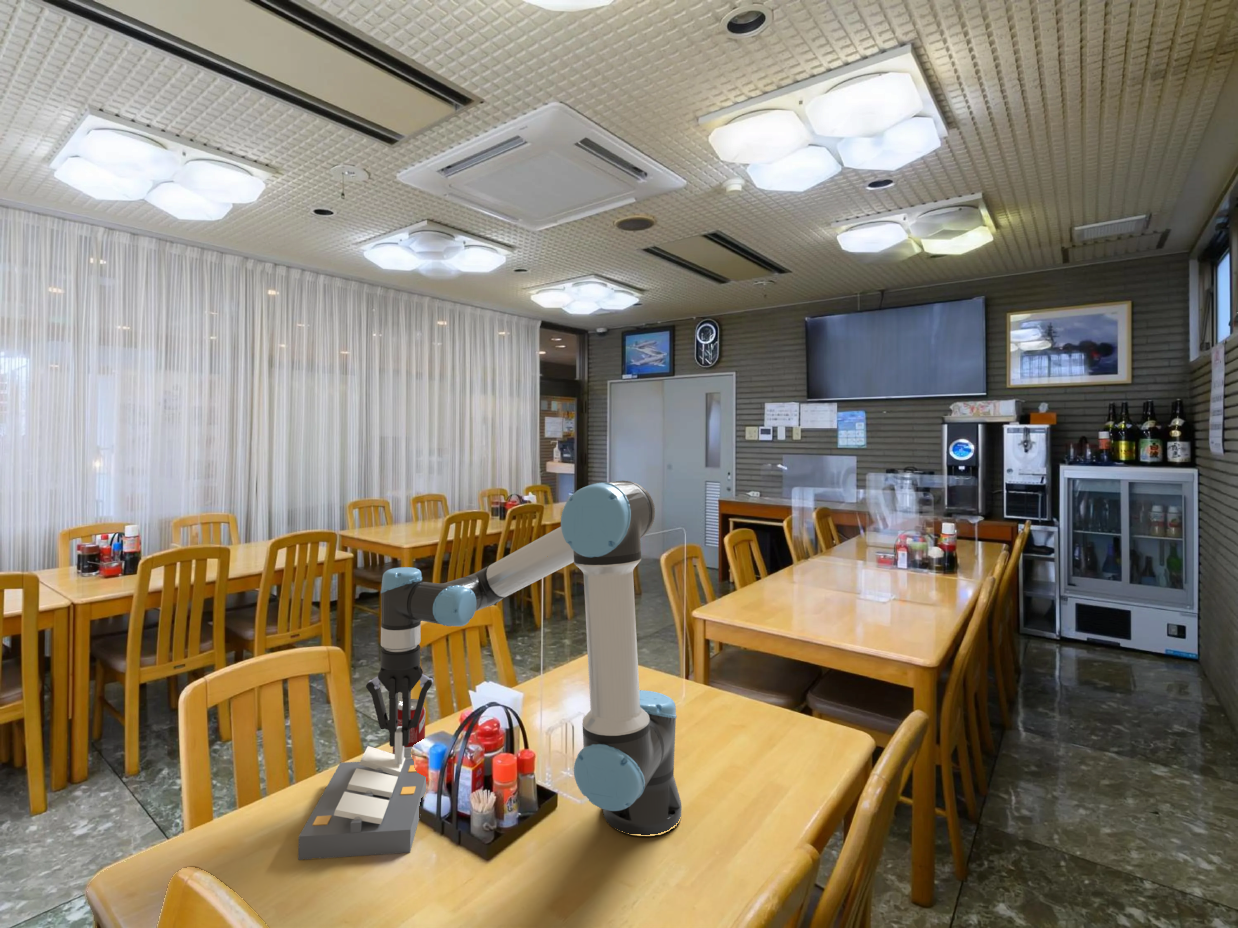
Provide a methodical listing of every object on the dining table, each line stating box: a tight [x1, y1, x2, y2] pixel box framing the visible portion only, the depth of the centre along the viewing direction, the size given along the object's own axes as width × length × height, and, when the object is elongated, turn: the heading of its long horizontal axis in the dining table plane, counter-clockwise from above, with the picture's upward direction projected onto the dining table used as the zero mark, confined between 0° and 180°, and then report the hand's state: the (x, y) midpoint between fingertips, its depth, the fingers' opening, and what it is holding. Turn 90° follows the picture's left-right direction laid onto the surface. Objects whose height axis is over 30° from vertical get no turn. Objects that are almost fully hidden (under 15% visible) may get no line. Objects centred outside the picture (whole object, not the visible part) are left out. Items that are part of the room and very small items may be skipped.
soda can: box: [392, 698, 426, 760], centre depth 138 cm, size 7×7×12 cm
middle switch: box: [347, 768, 398, 798], centre depth 117 cm, size 8×6×2 cm
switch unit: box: [297, 759, 427, 861], centre depth 117 cm, size 18×24×6 cm
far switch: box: [359, 745, 405, 777], centre depth 124 cm, size 8×6×2 cm
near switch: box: [334, 792, 389, 824], centre depth 109 cm, size 8×6×2 cm
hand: (399, 760), depth 125 cm, fingers closed
